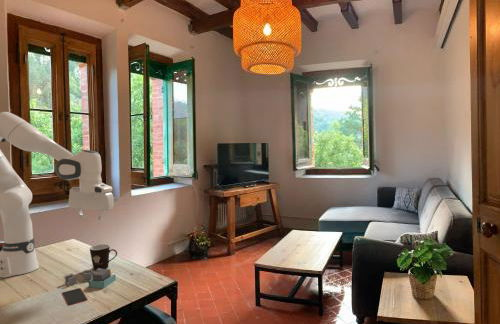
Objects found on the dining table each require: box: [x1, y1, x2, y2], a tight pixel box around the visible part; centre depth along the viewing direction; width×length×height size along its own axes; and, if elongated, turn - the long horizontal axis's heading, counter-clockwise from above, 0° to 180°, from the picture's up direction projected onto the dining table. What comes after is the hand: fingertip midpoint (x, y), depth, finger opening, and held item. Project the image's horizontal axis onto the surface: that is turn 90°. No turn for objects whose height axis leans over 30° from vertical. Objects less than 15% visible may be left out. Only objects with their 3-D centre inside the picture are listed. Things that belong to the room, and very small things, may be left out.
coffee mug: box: [89, 243, 118, 272], centre depth 162 cm, size 12×9×10 cm
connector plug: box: [92, 268, 114, 281], centre depth 147 cm, size 4×10×4 cm, turn 168°
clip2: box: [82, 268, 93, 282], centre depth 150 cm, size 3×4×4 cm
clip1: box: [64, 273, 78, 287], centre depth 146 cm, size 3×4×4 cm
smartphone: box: [61, 287, 88, 307], centre depth 134 cm, size 7×1×14 cm
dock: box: [88, 273, 117, 289], centre depth 145 cm, size 7×8×2 cm
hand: (91, 219), depth 153 cm, fingers open, 8 cm apart
